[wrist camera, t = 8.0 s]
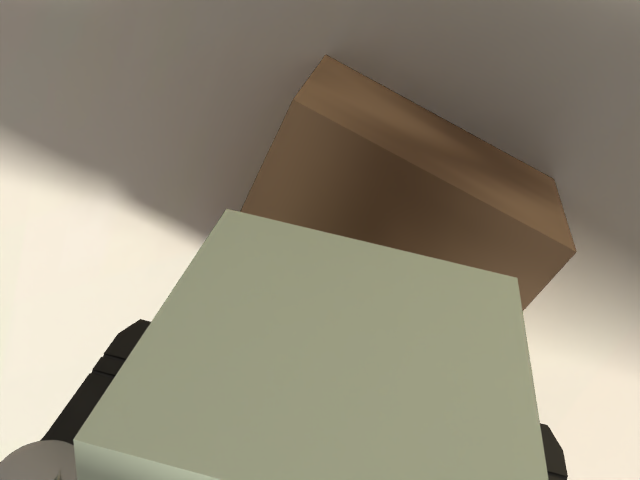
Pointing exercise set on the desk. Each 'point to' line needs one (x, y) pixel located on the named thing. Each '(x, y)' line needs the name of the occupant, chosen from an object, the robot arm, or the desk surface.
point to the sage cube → (321, 369)
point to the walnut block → (408, 182)
